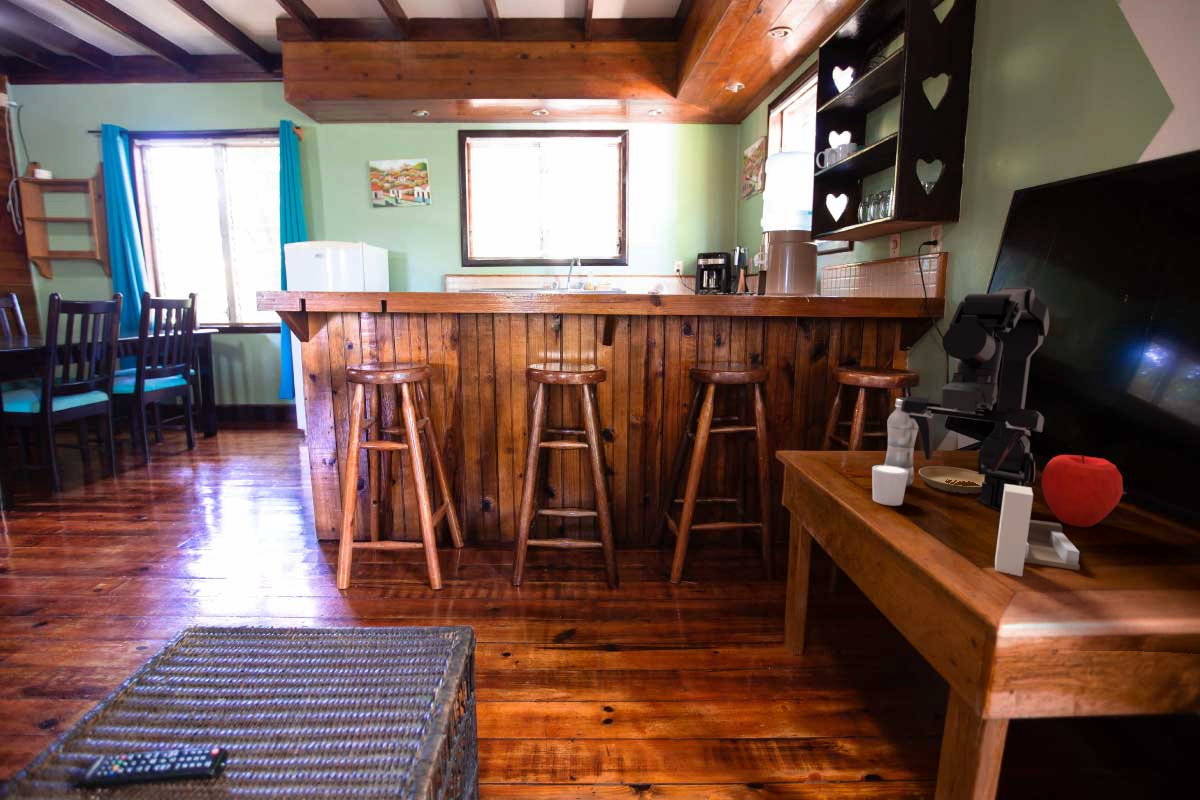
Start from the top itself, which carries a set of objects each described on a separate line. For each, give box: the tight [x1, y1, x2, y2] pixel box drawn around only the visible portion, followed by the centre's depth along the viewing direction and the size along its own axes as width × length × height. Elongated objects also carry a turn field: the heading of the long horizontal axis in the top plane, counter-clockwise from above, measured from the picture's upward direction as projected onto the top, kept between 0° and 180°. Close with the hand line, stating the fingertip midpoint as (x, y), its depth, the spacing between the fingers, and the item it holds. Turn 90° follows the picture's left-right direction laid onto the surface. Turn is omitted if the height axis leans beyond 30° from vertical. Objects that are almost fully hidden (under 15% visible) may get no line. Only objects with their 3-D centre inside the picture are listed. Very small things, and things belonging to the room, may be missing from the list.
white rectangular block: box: [994, 484, 1034, 577], centre depth 90 cm, size 4×3×13 cm
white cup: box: [871, 464, 909, 507], centre depth 120 cm, size 7×7×7 cm
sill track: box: [1024, 519, 1081, 571], centre depth 96 cm, size 10×9×4 cm
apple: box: [1041, 454, 1124, 528], centre depth 108 cm, size 12×12×13 cm
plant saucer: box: [918, 466, 985, 494], centre depth 131 cm, size 15×15×3 cm
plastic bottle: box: [883, 397, 919, 487], centre depth 130 cm, size 6×7×20 cm
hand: (959, 465), depth 92 cm, fingers open, 9 cm apart
